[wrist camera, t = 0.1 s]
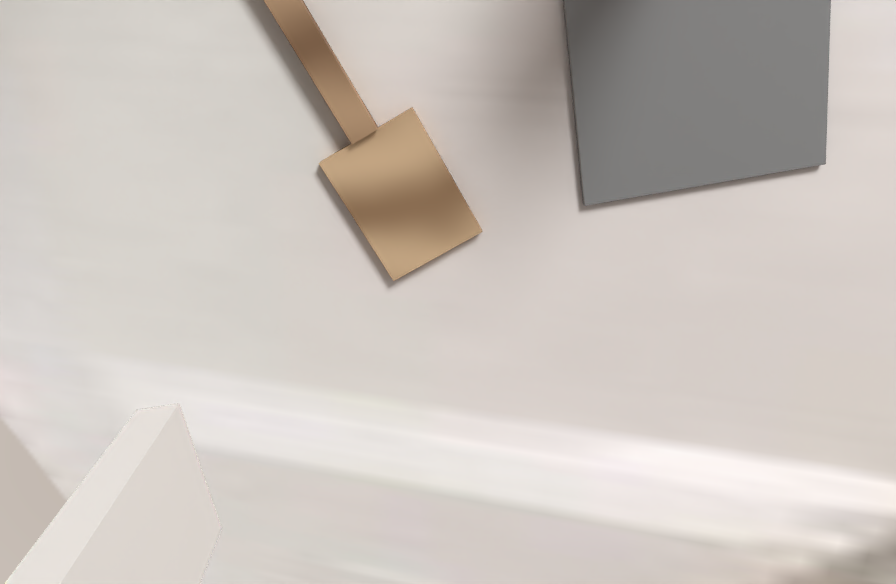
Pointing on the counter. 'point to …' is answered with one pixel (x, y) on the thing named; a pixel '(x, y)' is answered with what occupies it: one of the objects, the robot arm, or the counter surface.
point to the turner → (381, 162)
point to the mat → (695, 91)
